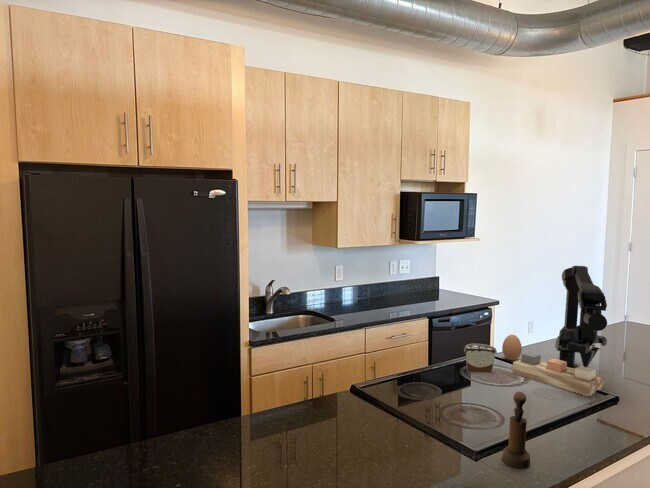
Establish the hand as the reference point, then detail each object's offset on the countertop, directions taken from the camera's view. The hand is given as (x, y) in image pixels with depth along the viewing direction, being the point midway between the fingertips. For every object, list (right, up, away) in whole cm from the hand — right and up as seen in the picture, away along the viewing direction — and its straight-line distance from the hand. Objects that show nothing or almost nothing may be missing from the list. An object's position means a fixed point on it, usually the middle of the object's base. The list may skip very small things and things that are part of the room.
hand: (585, 366), depth 172 cm
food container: (-33, -6, +18) cm, 38 cm away
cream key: (0, -4, 0) cm, 4 cm away
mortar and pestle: (-44, -12, -50) cm, 68 cm away
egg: (-14, -5, +32) cm, 35 cm away
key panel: (-7, -7, +8) cm, 13 cm away
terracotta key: (-6, -3, +8) cm, 11 cm away
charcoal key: (-13, -2, +16) cm, 20 cm away
